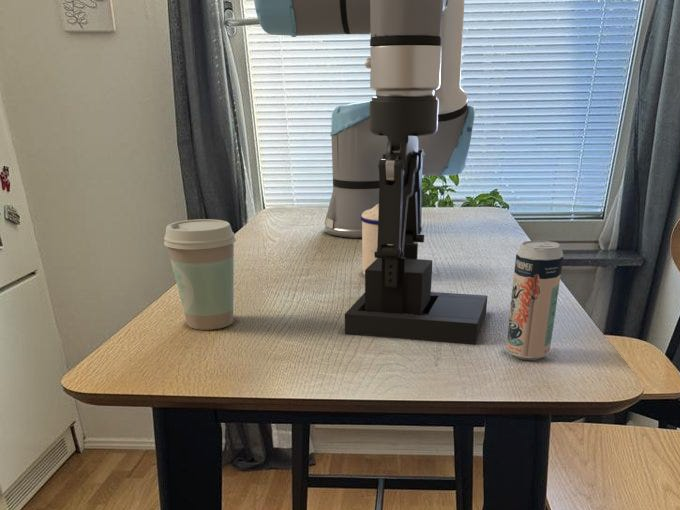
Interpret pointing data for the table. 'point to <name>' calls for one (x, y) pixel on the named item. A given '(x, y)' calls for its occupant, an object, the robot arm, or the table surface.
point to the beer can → (534, 299)
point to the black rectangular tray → (424, 319)
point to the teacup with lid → (370, 236)
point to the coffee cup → (203, 270)
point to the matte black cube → (415, 286)
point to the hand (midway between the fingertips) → (399, 303)
